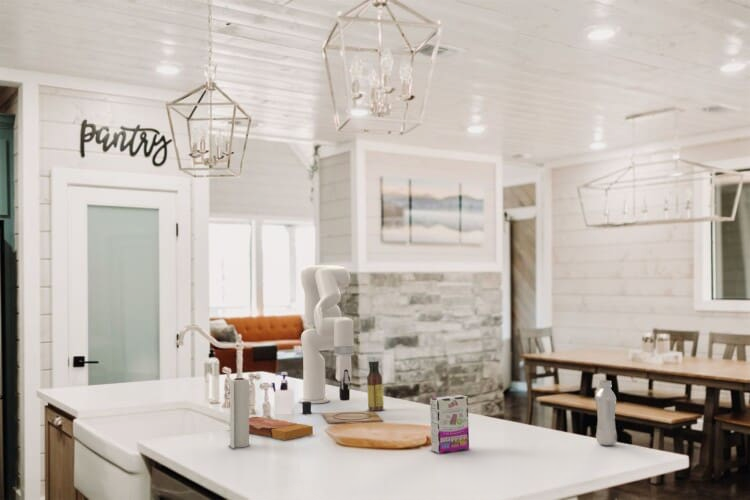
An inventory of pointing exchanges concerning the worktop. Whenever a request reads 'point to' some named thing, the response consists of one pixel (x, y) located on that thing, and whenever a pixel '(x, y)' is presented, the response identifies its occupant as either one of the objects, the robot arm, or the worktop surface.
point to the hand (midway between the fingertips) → (344, 398)
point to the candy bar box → (449, 423)
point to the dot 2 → (340, 395)
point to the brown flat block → (278, 428)
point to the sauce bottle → (374, 387)
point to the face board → (352, 417)
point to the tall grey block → (239, 412)
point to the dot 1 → (306, 407)
